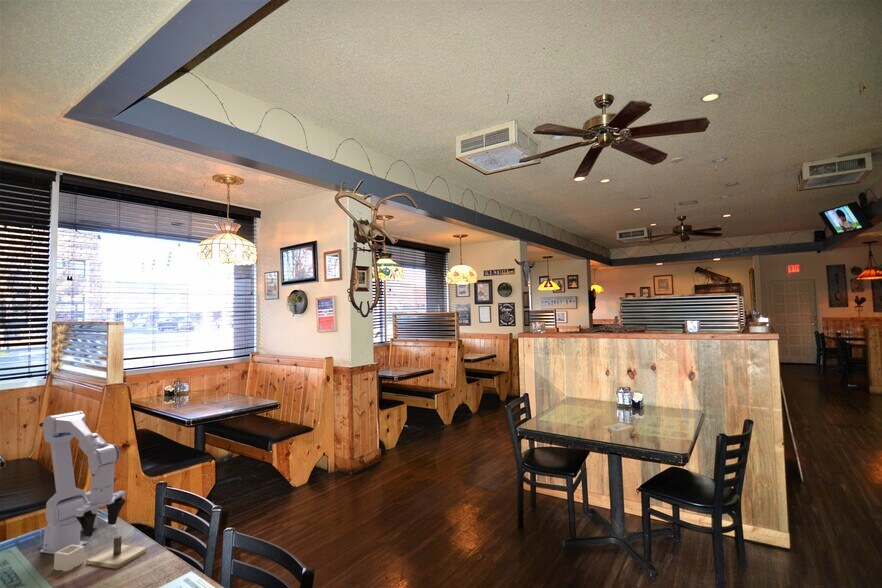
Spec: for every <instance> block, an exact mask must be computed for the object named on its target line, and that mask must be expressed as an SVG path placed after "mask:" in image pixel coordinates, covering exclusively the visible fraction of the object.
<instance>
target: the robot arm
mask: <svg viewBox="0 0 882 588" xmlns="http://www.w3.org/2000/svg"><path fill="white" fill-rule="evenodd" d="M86 421H87V417H86V414H85V413H84V412H83V411H82V410H76V411H73V412H67V413H66V412H65V413H60V414H55V415H48V416H46V417H45V419H44V421H43V423H42V432H43V434H42V435H43V438H44V442H46V443H49V444H50V445H49V446H50V452H51V460H52V467H53V468H52V469H53V476H54V485H55V493H54V494H53V496H51V497H50V498H49V499H48V500H47V501H46V506H45V507H46V508H45V509H46V510H45V520H46V522H47V524H46V526H45V529H44V531H43V547H42V549H41V550H40V551H39V552H40V553H45V554H50V555H55V552H57V551H59V550H61V549H63V548H65V547H67V546H69V545H72V544H73V545H80V546H85V545H86V544H87V543H88V541H87V540H85V541H84V540H81V532H82V531H81V526H82V529H83V532H82V533H83V534H84V535H83V537H86V538H87V537H88V538H91V537H92V536H93V533H94V529H93V525H94V521H95V518H96V515H98V513H97V514H92V513H93V512H92V513H91V511H93V510H95V509H99V508H101V507H104V506H106V511H107V524H108V525H111V526H114V525H116V523H117V519H118V517H119V514H120V512H121V510H122V508H123V507H124V505H125V503H126V499H125V498H126V491H125V490H119V491H117V492H114V489H115V487H114V484H115V465H116V463H117V462H118V461H119V459H120V449H119V448H118V446H117V444H114V443H113V444H111V443H107V441H106V440H105V439H104V438H103V437H102V436H101V435H100V434H98V433H96V432H92V431H91V430H90V429H89V426H87V424H86ZM73 438H75V439H76V440H78V441H79V442H78V447H79V448H80V450H82V452H83V453H84V454H85V455H86V456H87V463H88V467H89V468H88V469H89V473H90V474H91V479H90V481H91V482H90V491H91V494H90V502H88V499H87V497H86V494H85V493H86V491H85V490H83V489H81V488H78V487H76V479H75V473H74V465H73V458H72V448H71V440H72V439H73ZM66 499H67V500H66Z"/></svg>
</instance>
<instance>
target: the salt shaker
mask: <svg viewBox="0 0 882 588" xmlns="http://www.w3.org/2000/svg"><path fill="white" fill-rule="evenodd" d="M85 494H86V497H87V499H88V502H90V494H91V490H90V491H85ZM97 509H98V508H97ZM97 509H95V510H93V511H91V513H92V512H93V513H92V514H97V515H96V518H95V521H94V525H93V528H94V529H95V528H96V527H97V525H98V523H99V515H98V510H97ZM82 531H83V529H82V526H81V532H82Z"/></svg>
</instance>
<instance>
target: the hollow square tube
mask: <svg viewBox="0 0 882 588" xmlns="http://www.w3.org/2000/svg"><path fill="white" fill-rule="evenodd" d="M85 547H86V546H85V545H82V546H80V545H73V544H72V545H69V546H67V547H65V548H63V549H61V550H59V551H57V552H55V554H54V555H53V556H54V557H53V560H54V561H53V570H54V569H55V570H54V571H59V570H63V571H62V572H65V571H67V572H69V571H71V570H73V569H75V568H77V567H78V566H80V565H82V564H83V562H84V563H85ZM74 567H75V568H74ZM68 570H69V571H68Z"/></svg>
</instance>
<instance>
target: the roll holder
mask: <svg viewBox="0 0 882 588" xmlns="http://www.w3.org/2000/svg"><path fill="white" fill-rule="evenodd" d="M122 538H123V537H122V536H121V535H118V536H115V537H114V538H113V545H111V546H110V547H107V548H106V549H104V550H102V551H101V552H99V553H97V554H95V555H93V556H91V557H89V558H87V559H86V560H85V564H86V565H89V564H91V566H96V567H97V566H98V567H104V568H109V569H110V568H111V569H116V570H117V569H120V568H121V567H123V566H125V565H127V564H128V563H130V562H131V561H133V560H134V559H136V558H138V557H140V556H141V555H143V554H145V553H147V549H148V548H147V547H144V546H138V545H137V546H136V545H130V544H123V543H122Z"/></svg>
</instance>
